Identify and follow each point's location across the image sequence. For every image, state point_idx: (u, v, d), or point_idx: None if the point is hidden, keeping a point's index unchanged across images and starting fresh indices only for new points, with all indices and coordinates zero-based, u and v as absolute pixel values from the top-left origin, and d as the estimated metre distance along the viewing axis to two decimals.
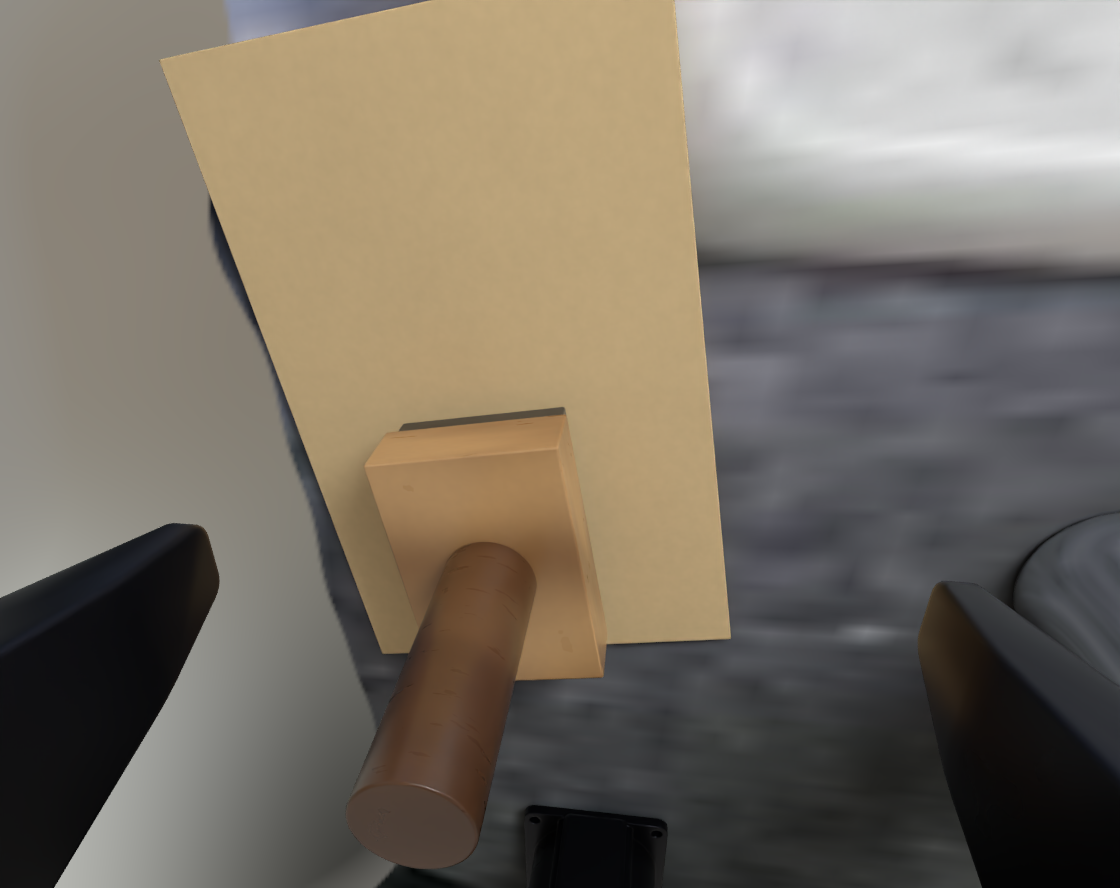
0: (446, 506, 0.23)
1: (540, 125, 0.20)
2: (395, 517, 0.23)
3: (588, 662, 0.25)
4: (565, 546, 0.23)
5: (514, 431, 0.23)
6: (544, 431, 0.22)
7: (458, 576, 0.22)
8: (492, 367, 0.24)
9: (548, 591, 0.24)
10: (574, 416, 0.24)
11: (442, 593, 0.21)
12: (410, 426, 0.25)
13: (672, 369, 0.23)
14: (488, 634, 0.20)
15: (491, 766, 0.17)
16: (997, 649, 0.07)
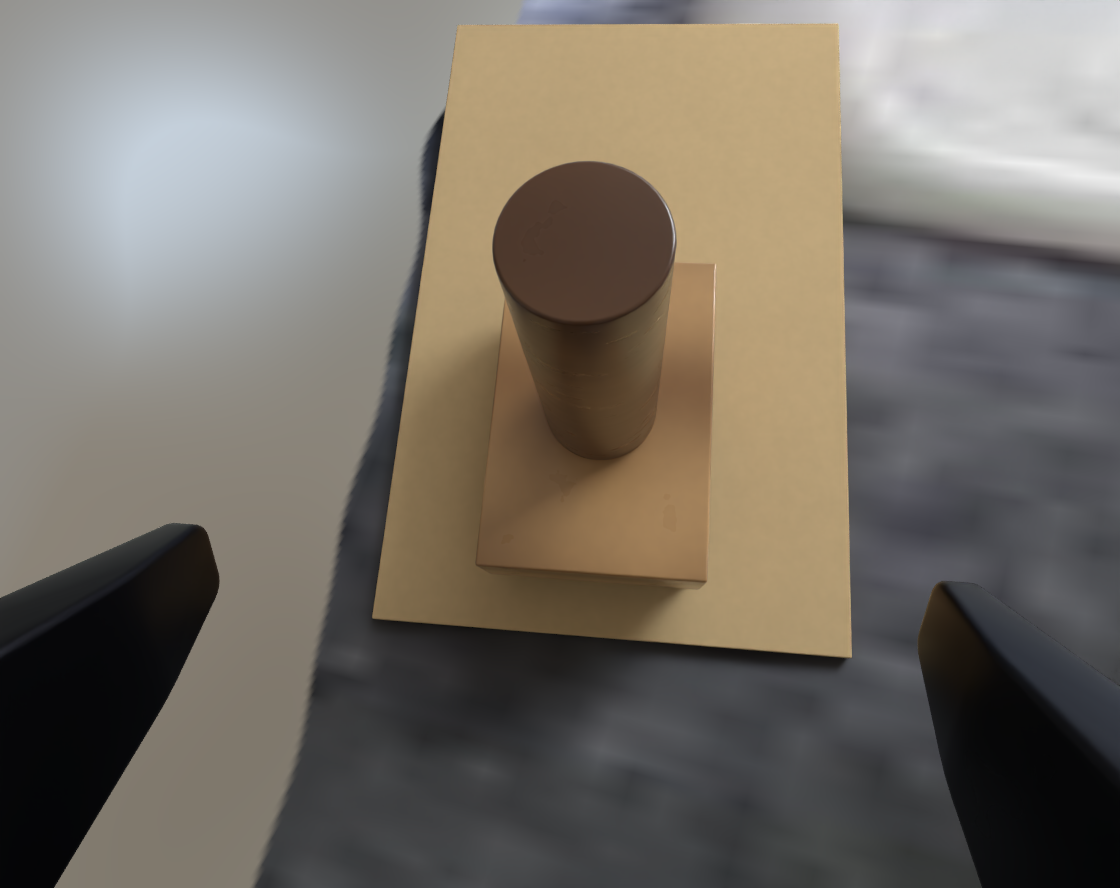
0: None
1: (728, 100, 0.26)
2: None
3: (692, 551, 0.19)
4: (700, 375, 0.20)
5: None
6: None
7: None
8: None
9: (665, 433, 0.20)
10: None
11: None
12: None
13: (810, 298, 0.24)
14: None
15: None
16: (997, 649, 0.07)
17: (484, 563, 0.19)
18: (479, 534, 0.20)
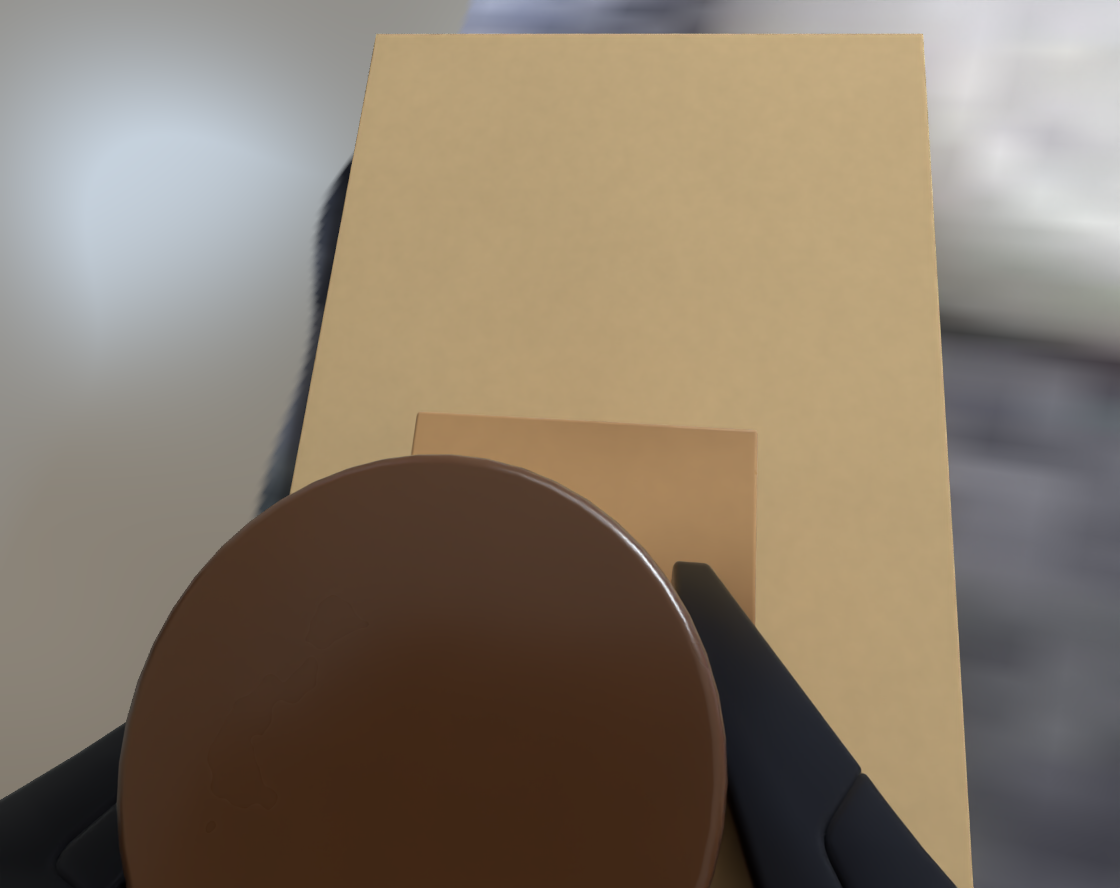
0: None
1: (764, 146, 0.18)
2: None
3: None
4: None
5: None
6: None
7: None
8: (628, 405, 0.16)
9: None
10: None
11: None
12: None
13: (896, 455, 0.16)
14: None
15: None
16: None
17: None
18: None
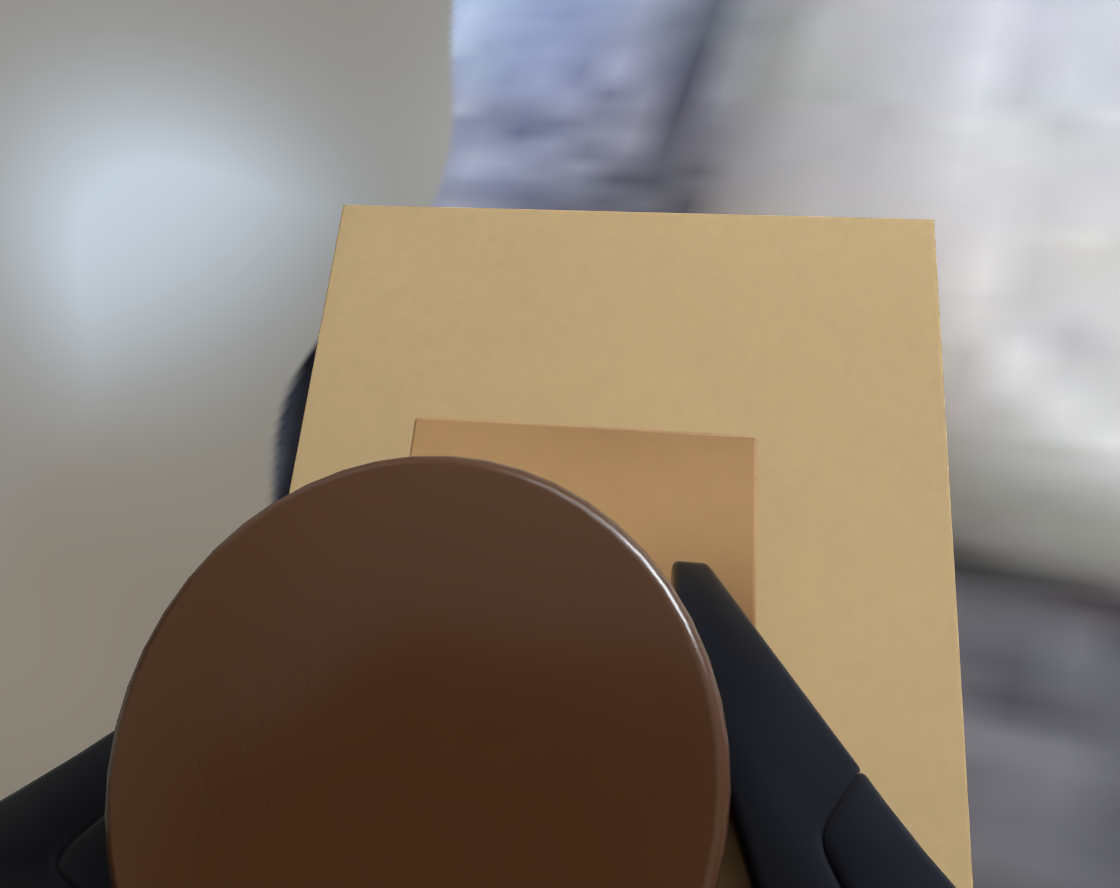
0: None
1: (761, 347, 0.16)
2: None
3: None
4: None
5: None
6: None
7: None
8: None
9: None
10: None
11: None
12: None
13: (906, 721, 0.14)
14: None
15: None
16: None
17: None
18: None
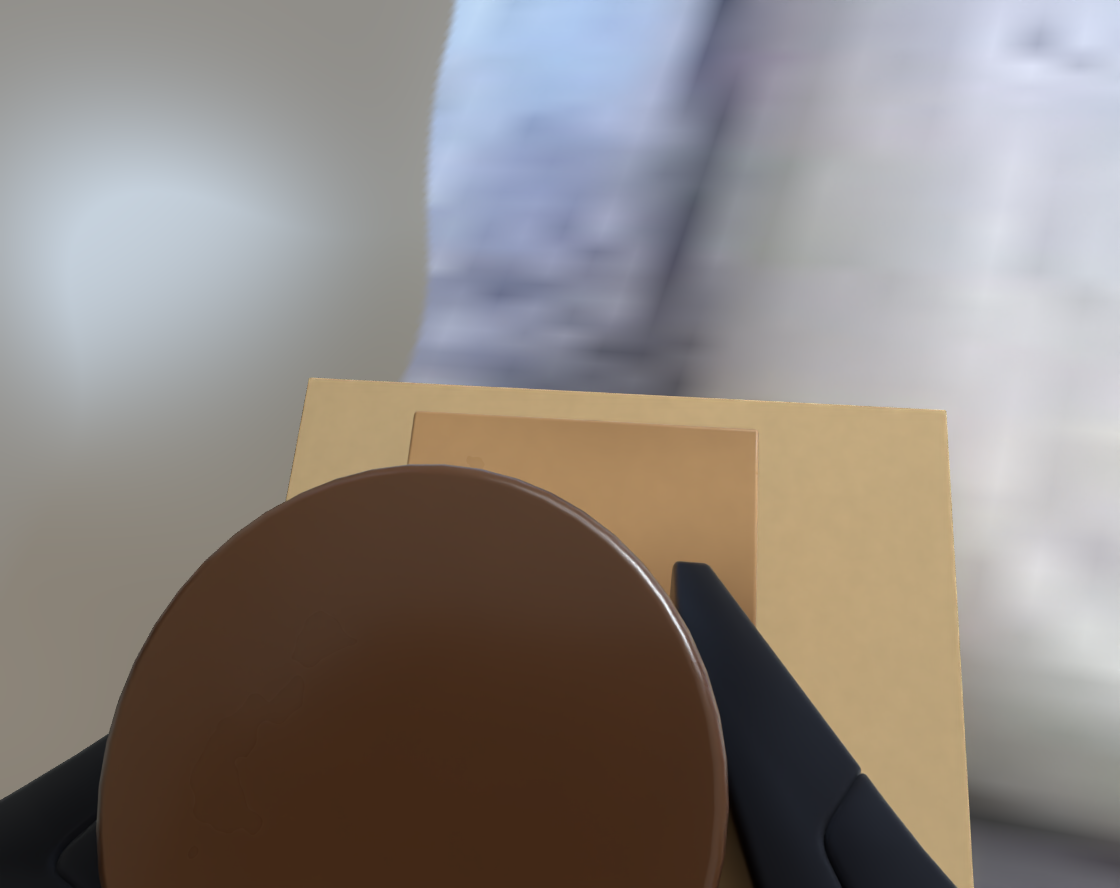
0: None
1: (758, 556, 0.15)
2: None
3: None
4: None
5: None
6: None
7: None
8: None
9: None
10: None
11: None
12: None
13: None
14: None
15: None
16: None
17: None
18: None
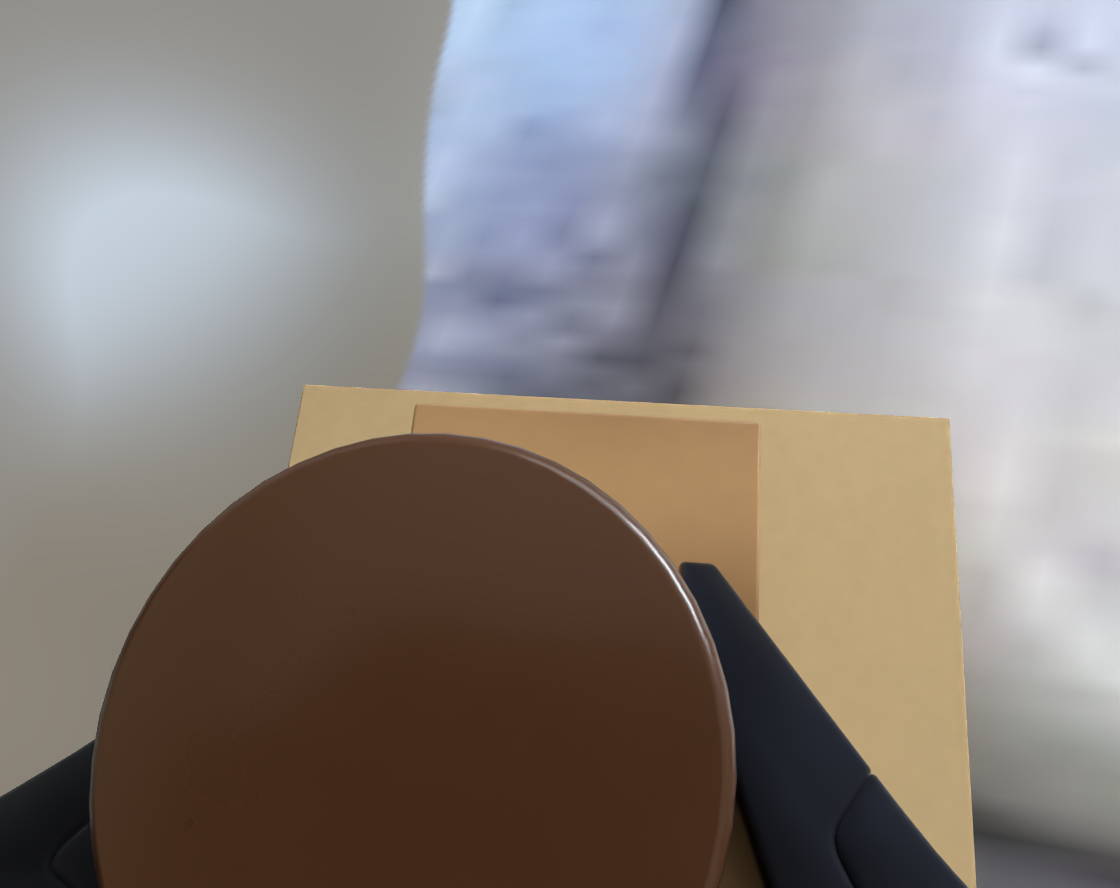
0: None
1: None
2: None
3: None
4: None
5: None
6: None
7: None
8: None
9: None
10: None
11: None
12: None
13: None
14: None
15: None
16: None
17: None
18: None
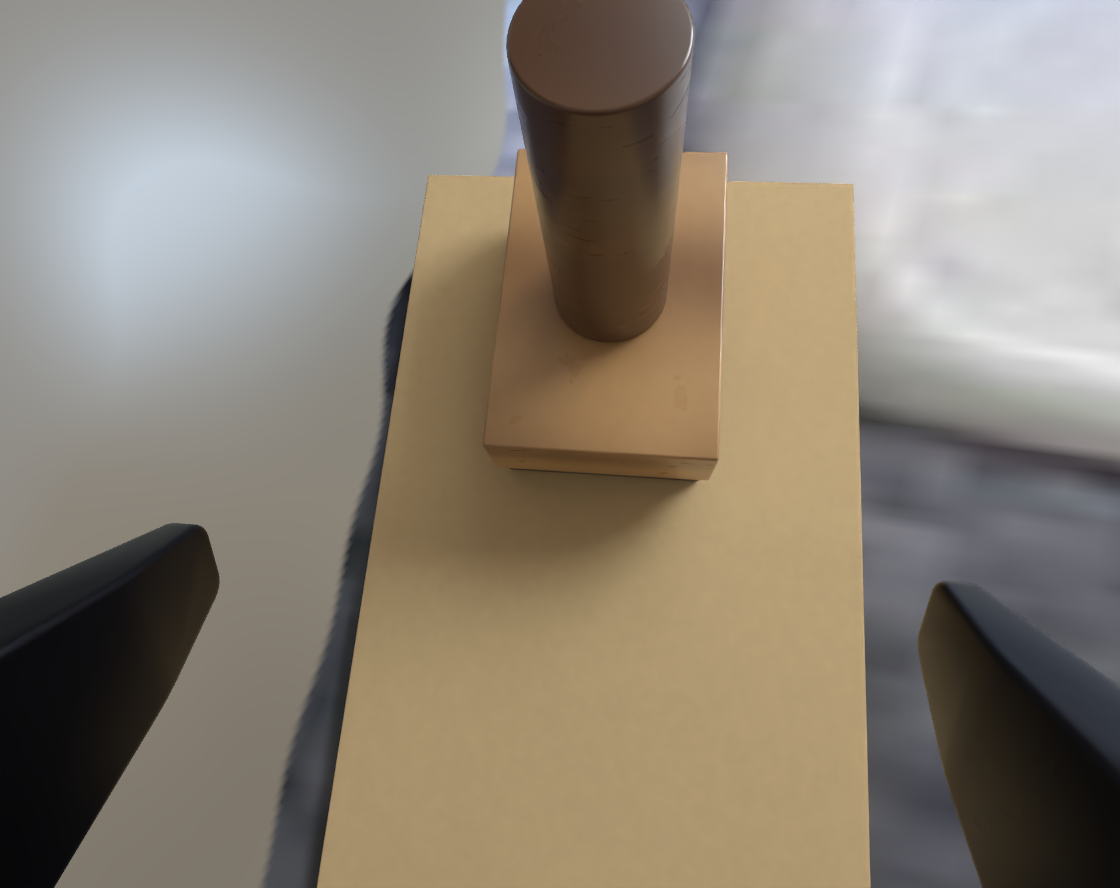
0: None
1: (729, 273, 0.23)
2: (528, 205, 0.21)
3: (703, 430, 0.19)
4: (711, 260, 0.20)
5: None
6: None
7: None
8: None
9: (676, 316, 0.20)
10: (703, 551, 0.21)
11: None
12: None
13: (823, 515, 0.21)
14: None
15: None
16: (997, 649, 0.07)
17: (491, 443, 0.19)
18: (486, 415, 0.19)
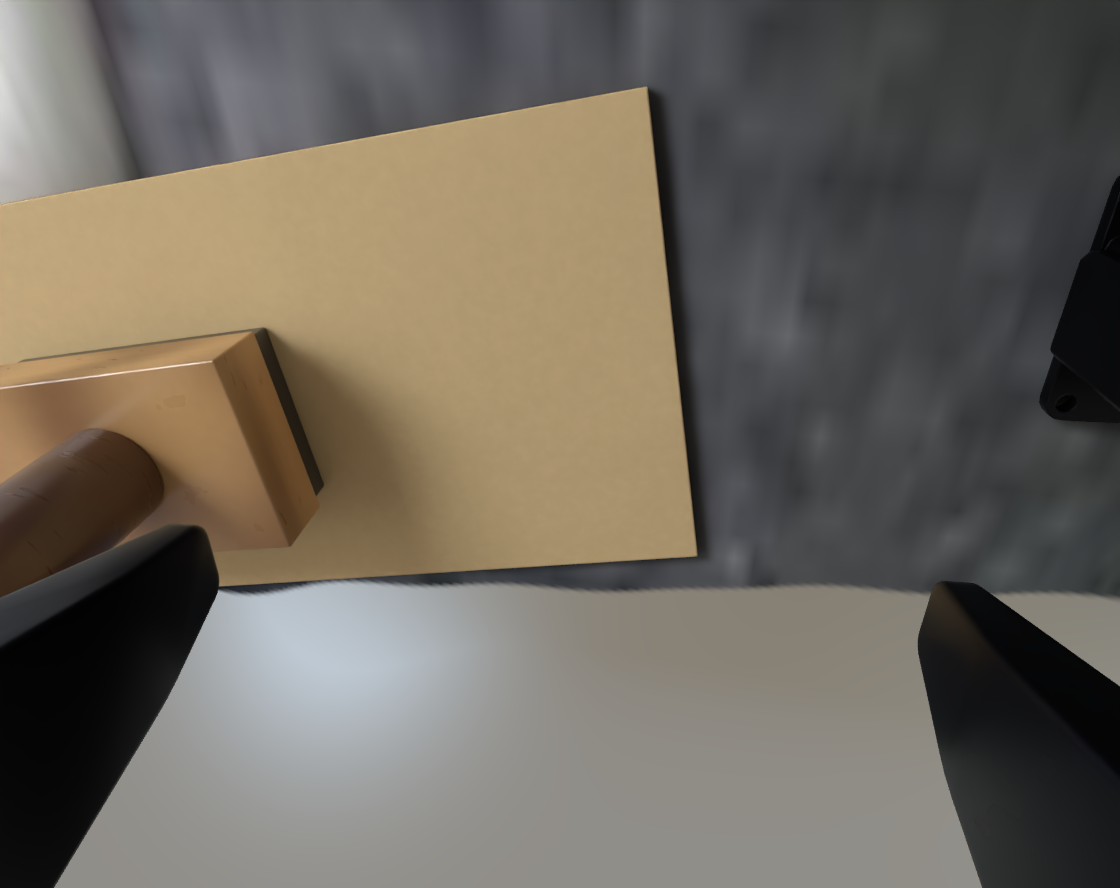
0: None
1: (60, 331, 0.23)
2: None
3: (193, 377, 0.20)
4: (38, 395, 0.20)
5: None
6: None
7: None
8: (290, 391, 0.23)
9: (105, 416, 0.21)
10: (326, 312, 0.22)
11: None
12: None
13: (246, 202, 0.20)
14: None
15: None
16: (997, 649, 0.07)
17: (285, 541, 0.22)
18: (265, 548, 0.22)
